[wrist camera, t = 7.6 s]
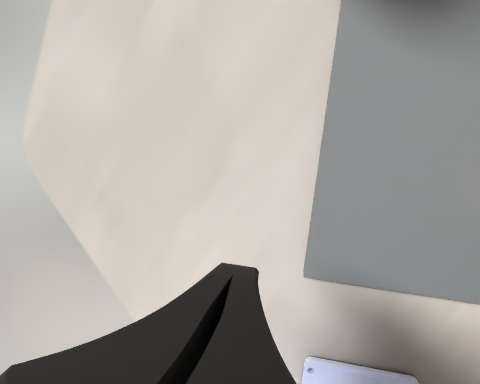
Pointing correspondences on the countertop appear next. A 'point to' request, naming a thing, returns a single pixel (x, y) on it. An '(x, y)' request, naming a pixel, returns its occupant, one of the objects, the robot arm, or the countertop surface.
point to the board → (401, 151)
